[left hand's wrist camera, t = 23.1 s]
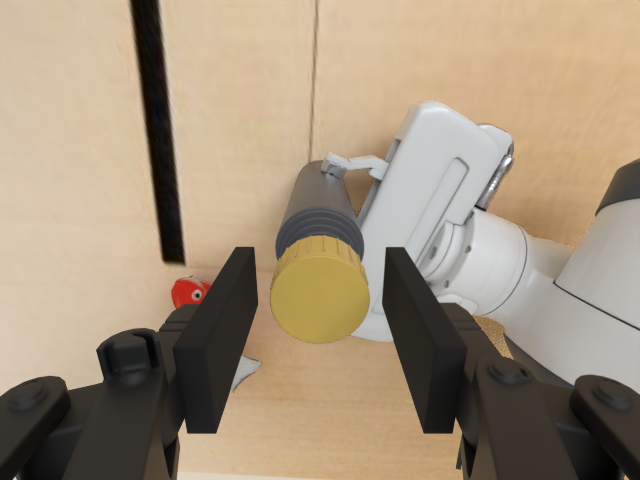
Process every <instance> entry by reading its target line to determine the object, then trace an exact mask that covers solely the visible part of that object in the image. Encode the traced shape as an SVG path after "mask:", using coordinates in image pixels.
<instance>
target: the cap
mask: <svg viewBox="0 0 640 480" xmlns="http://www.w3.org/2000/svg"><path fill="white" fill-rule="evenodd" d="M367 285H369V283H368V280H367V276H366V273H365V269H364V266H363V265H362V264H361V261H360V258H359V255H358V254H356V253H355V251H354V250H353V249H352V248H351V246H350V245H347V244H346V243H344V242H343V241H341V240H339V239H338V238H337V239H336V238H333V237H329V236H326V235H323V236H310V237H307V238H304V239H301V240H297V242H295V243H294V244H292V245H291V246H290V247H289V248H286V251H285V252H284V254H283V255H282V257H281V258H279V260H278V264H277V267H276V270H275V273H274V277H273V280H272V284H271V287H270V290H271V293H270V306H271V310H272V313H273V316H274V318H275V320H276V321H277V323H278V324H279V325H280V326H281V328H282V329H283V330H284V331H286V332H287V333H288V334H290V335H291V336H293V337H295V338H297V339H299V340H302V341H305V342H309V343H318V344H323V343H331V342H335V341H338V340H341V339H343V338H345V337H347V336H349V335H350V334H352V333H353V332H354V331H355V330H356V329H358V328H359V326H360V325H361V324H362V323H363V321H364V319H365V318H366V315H367V313H368V310H369V305H370V294H369V289H368V286H367Z"/></svg>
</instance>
